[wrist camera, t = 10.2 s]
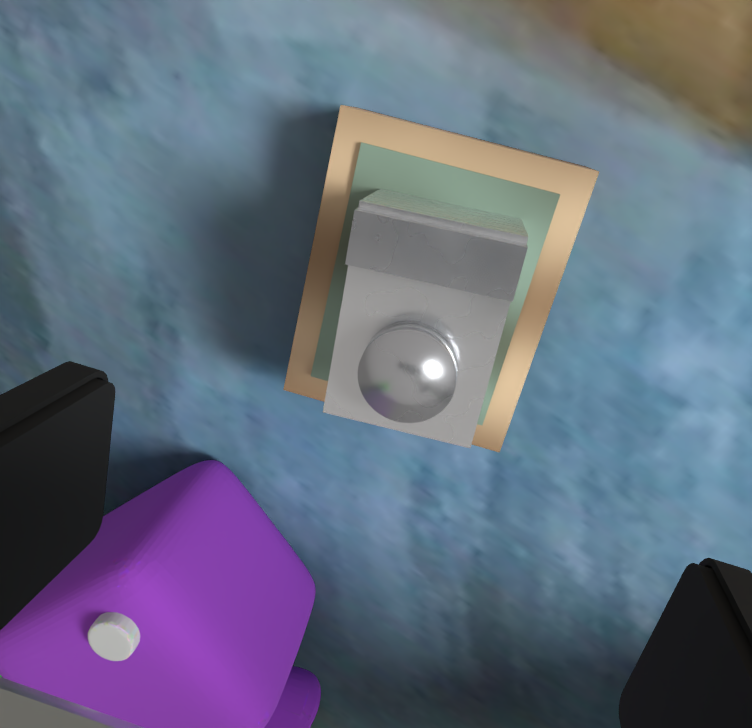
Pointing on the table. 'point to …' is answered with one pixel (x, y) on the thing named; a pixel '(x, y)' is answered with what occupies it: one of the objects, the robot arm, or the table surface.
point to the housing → (422, 314)
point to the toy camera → (175, 614)
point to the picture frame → (455, 186)
